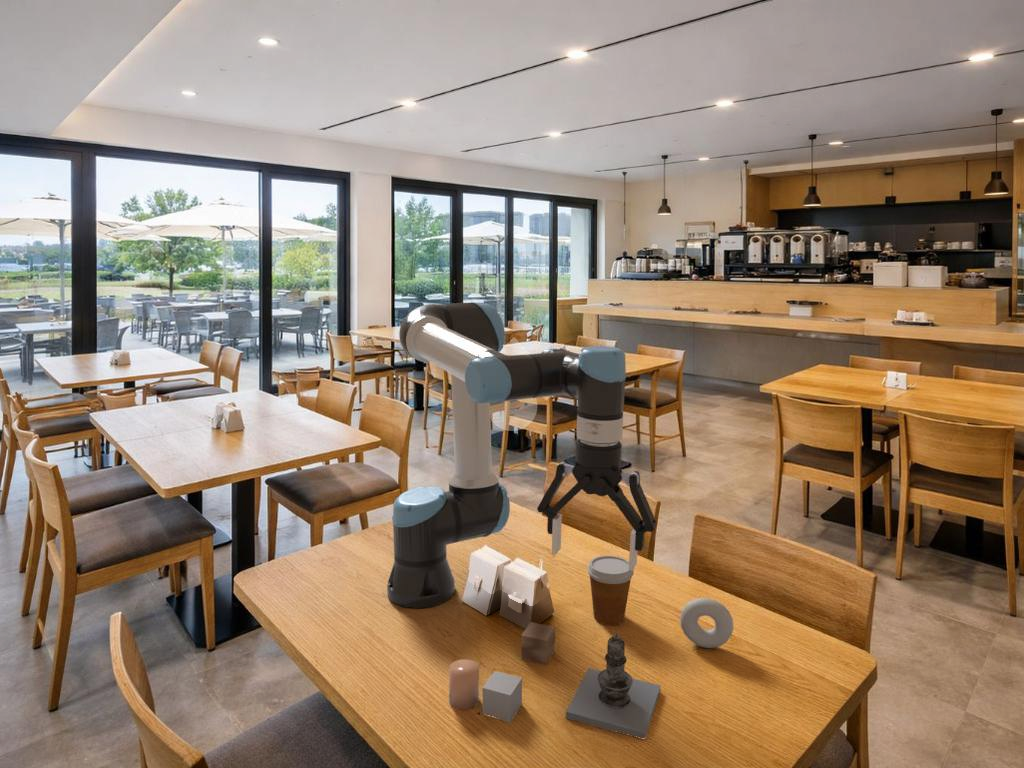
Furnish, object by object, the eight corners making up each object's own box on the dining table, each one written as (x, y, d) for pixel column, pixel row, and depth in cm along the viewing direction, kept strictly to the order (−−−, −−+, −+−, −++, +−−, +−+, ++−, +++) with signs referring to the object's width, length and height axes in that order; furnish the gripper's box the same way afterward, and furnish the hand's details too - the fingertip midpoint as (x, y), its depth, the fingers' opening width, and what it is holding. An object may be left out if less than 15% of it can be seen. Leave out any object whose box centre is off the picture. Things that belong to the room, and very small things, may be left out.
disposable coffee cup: (577, 617, 140) (578, 564, 138) (604, 601, 146) (606, 550, 144) (613, 635, 133) (615, 579, 131) (640, 617, 140) (643, 564, 138)
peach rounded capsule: (443, 702, 113) (443, 670, 112) (461, 687, 117) (461, 656, 116) (466, 713, 110) (466, 680, 109) (484, 697, 114) (484, 666, 113)
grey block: (482, 714, 110) (482, 687, 109) (495, 696, 114) (494, 670, 113) (510, 722, 108) (510, 695, 107) (521, 704, 112) (522, 677, 111)
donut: (732, 646, 129) (735, 599, 128) (731, 656, 126) (734, 607, 124) (679, 636, 133) (682, 590, 131) (677, 645, 130) (680, 598, 128)
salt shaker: (608, 682, 116) (610, 619, 114) (638, 696, 112) (641, 631, 110) (590, 699, 112) (591, 634, 109) (620, 714, 108) (623, 647, 106)
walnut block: (521, 659, 125) (521, 635, 124) (530, 645, 130) (530, 622, 129) (546, 665, 123) (546, 640, 122) (554, 651, 128) (555, 627, 127)
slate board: (565, 718, 109) (566, 711, 109) (588, 673, 121) (588, 667, 120) (644, 740, 104) (645, 733, 104) (660, 691, 116) (660, 685, 115)
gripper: (520, 436, 111) (518, 553, 115) (671, 456, 102) (662, 583, 106) (536, 425, 118) (533, 537, 122) (679, 443, 109) (670, 563, 113)
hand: (593, 559), depth 114 cm, fingers open, 13 cm apart
